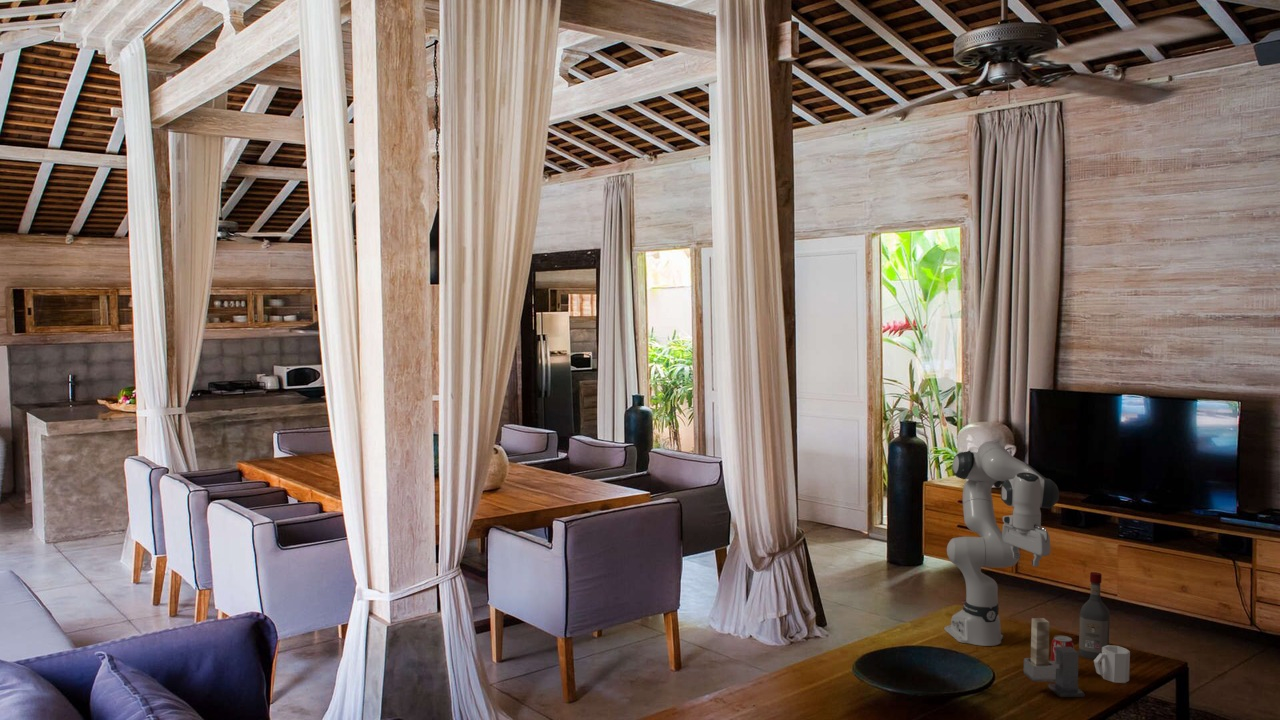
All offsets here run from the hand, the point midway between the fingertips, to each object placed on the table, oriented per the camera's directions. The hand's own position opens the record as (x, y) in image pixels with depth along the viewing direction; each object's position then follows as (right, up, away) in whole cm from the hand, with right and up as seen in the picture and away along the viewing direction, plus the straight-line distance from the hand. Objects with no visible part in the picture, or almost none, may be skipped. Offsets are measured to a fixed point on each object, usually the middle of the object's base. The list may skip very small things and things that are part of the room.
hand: (1025, 562), depth 319 cm
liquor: (+33, -38, +21) cm, 55 cm away
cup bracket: (+4, -40, -11) cm, 42 cm away
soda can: (+15, -39, +5) cm, 42 cm away
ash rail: (0, -34, -12) cm, 36 cm away
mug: (+29, -40, 0) cm, 49 cm away
